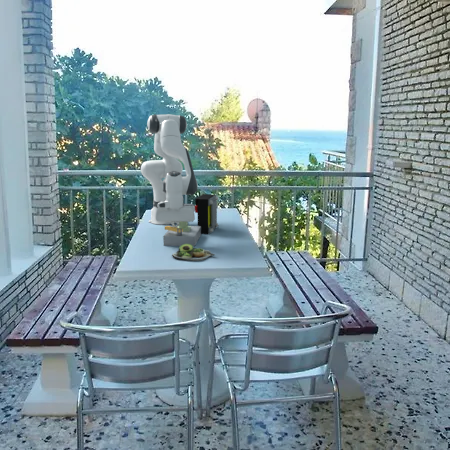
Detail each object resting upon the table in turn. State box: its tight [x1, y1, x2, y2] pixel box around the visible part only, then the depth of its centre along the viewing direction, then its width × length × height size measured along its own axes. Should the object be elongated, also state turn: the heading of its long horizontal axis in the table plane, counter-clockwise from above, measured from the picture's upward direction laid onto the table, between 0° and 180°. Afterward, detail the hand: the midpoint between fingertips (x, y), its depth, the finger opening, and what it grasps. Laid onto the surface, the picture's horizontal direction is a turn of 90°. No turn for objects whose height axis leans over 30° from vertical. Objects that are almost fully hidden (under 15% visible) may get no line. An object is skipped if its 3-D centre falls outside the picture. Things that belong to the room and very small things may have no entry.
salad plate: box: [171, 244, 216, 262], centre depth 217 cm, size 19×18×5 cm
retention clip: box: [164, 225, 183, 236], centre depth 238 cm, size 11×3×3 cm, turn 51°
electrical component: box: [194, 193, 219, 235], centre depth 266 cm, size 18×10×20 cm, turn 168°
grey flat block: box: [162, 225, 202, 247], centre depth 246 cm, size 24×16×5 cm, turn 175°
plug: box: [178, 222, 192, 232], centre depth 247 cm, size 7×7×11 cm
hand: (175, 229), depth 241 cm, fingers closed
